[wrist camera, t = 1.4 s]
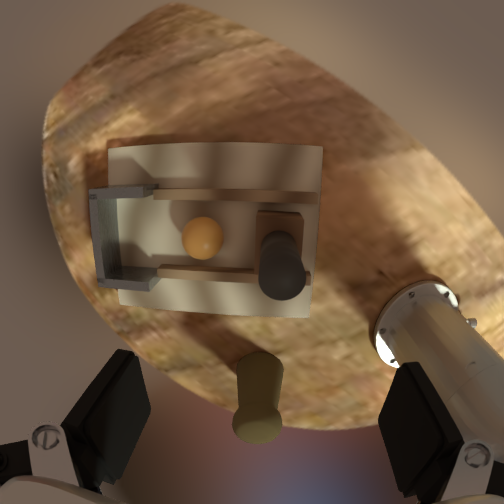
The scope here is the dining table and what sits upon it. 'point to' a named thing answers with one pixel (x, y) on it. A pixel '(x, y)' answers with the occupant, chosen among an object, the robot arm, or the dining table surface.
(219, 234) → the ball
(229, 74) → the dining table surface
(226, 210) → the lane board
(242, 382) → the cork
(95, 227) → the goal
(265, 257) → the player block
